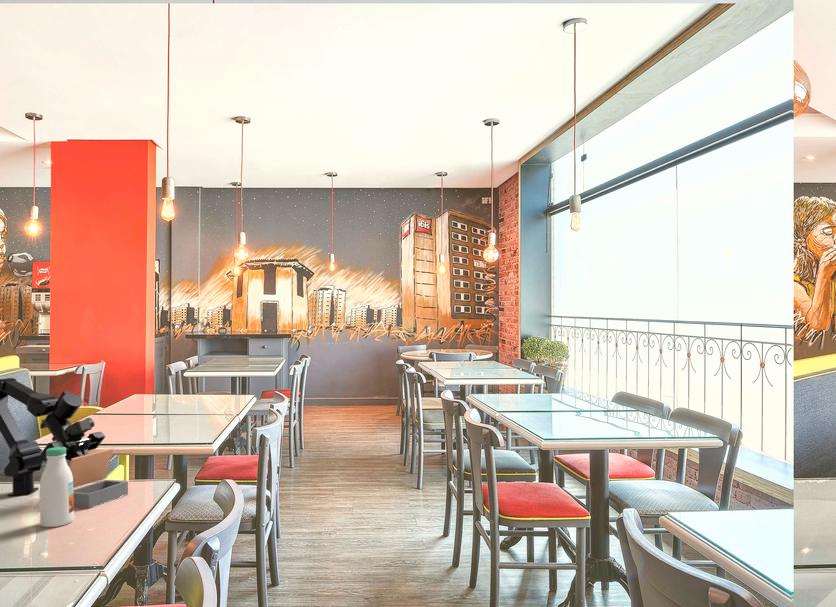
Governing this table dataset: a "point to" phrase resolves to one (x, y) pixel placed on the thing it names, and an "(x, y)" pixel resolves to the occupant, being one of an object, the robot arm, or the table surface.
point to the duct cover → (90, 467)
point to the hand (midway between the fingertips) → (88, 466)
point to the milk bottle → (56, 490)
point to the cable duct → (99, 493)
